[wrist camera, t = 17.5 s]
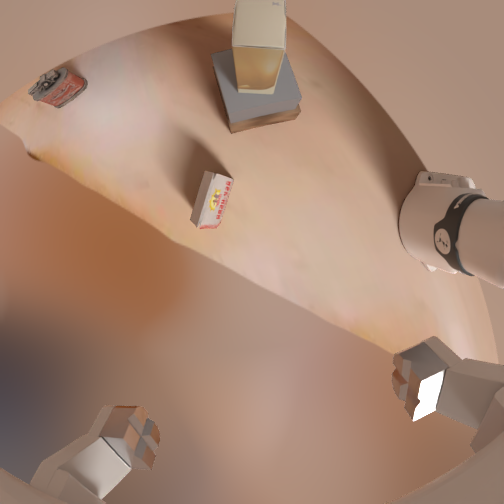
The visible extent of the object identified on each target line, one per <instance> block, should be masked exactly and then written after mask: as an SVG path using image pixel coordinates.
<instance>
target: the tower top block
mask: <svg viewBox="0 0 504 504" xmlns="http://www.w3.org/2000/svg"><path fill="white" fill-rule="evenodd" d="M211 57H212V60H213V64H214V67H215V71H216V74H217V78H218V81H219V84H220V88H221V91H222V95H223V98H224V102H225V105H226V109H227V112H228V116H229V119H230V123H235V122H239V121H243V120H247V119H251V118H255V117H259V116H264V115H268V114H273V113H278V112H283V111H288V110H293V109H295V108H296V107H297V105H298V103H299V102H300V100H301V99H302V97H301V94H300V91H299V88H298V85H297V82H296V79H295V76H294V74H293V71H292V68H291V66H290V63H289V60H288V58H287V55H286V53H284V57H283V61H282V64H281V68H280V71H279V75H278V79H277V82H276V86H275V90H274V93H273V94H253V93H239V92H238V88H237V80H236V72H235V65H234V58H233V51H232V49H229V50H225V51H221V52H217V53H213V54H211Z"/></svg>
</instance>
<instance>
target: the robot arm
mask: <svg viewBox="0 0 504 504" xmlns="http://www.w3.org/2000/svg"><path fill="white" fill-rule="evenodd" d="M428 177H429V180H428ZM399 231H400V237H401V240H402V243H403V245H404V247H405V249H406V250H407V252H408V253H409V254H410V255H411V256H412V257H414V258H415V259H417V260H420V261H421V262H423V264H424V266H425V267H426V268H427V269H428V270H429V271H435V270H437V269H440V270H443V271H446V272H449V273H452V274H455V273H456V272H460V273H462V274H466V275H469V276H477V277H479V278H481V279H483V280H485V281H487V282H489V283H491V284H493V285H495V286H497V287H499V288H503V289H504V201H500V200H490V199H488V198H487V197H486V196H485V194H484V192H483V191H482V190H481V189H476V188H475V185H474V183H473V181H472V179H471V178H468V177H463V176H456V175H449V174H442V173H435V172H427V171H421V172H419V174H418V176H417V179H416V182H415V186H414V188H413V189H412V190H411V192H410V193H409V194H408V196H407V197H406V199H405V201H404V203H403V205H402V209H401V212H400V219H399ZM393 364H394V366H395V367H396V369H395V370H394V372H393V373H392V385H393V389H394V391H395V394H396V395H397V397H398V398H399V399H400V400H403V401H405V407H404V408H405V409H406V411H407V413H408V414H409V416H410V417H411V419H412V420H413V421H414V420H416V419H418V418H420V417H423V416H425V415H427V414H429V413H431V412H433V411H435V410H436V412H438V413H440V414H442V415H445V416H447V417H449V418H451V419H454V420H456V421H458V422H461V423H463V424H465V425H468V426H470V427H473V428H475V429H477V432H476V434H475V435H474V437H473V439H472V441H471V444H470V446H471V447H472V449H473V450H474V452H475V454H474V455H473V456H471V457H470V458H468V459H467V460H466V461H464V462H463V463H461V464H460V465H458V466H457V467H455V468H453V469H452V470H450V471H449V472H447V473H445V474H444V475H442V476H440V477H438V478H437V479H435V480H433V481H431V482H429V483H428V484H426V485H424V486H422V487H420V488H418V489H416V490H414V491H412V492H410V493H408V494H406V495H403V496H401V497H399V498H397V499H394V500H392V501H390V502H387V503H385V504H504V365H499V364H493V363H488V362H482V361H477V360H472V359H467V358H465V359H464V360H462V359H461V358H460V357H458V356H457V355H456V354H455V353H454V352H453V351H452V350H451V349H450V348H449V347H447V346H446V345H445V344H444V343H443V342H442V341H441V340H440V339H438V338H437V337H435V336H432V337H430V338H428V339H426V340H424V341H422V342H421V343H418V344H416V345H413V346H411V347H409V348H407V349H404V350H402V351H400V352H397V353H395V354H394V357H393ZM159 442H160V432H159V429H158V427H157V425H156V424H155V422H153V421H152V420H150V419H149V418H148V412H147V411H146V410H145V408H144V407H141V406H120V405H117V406H113V405H106V406H104V407H103V408H102V409H101V411H100V413H99V415H98V416H97V418H96V420H95V422H94V423H93V425H92V427H91V429H90V431H89V432H88V434H87V435H83V436H81V437H80V438H78V439H77V440H75V441H74V442H72V443H71V444H69V445H68V446H66V447H64V448H63V449H61V450H60V451H58V452H57V453H55V454H53V455H52V456H50V457H49V458H47V459H45V460H44V461H42V462H41V464H40V466H39V468H38V469H37V471H36V473H35V475H34V476H33V478H32V480H31V482H30V484H27V483H25V482H23V481H21V480H20V479H18V478H16V477H15V476H13V475H11V474H10V473H8V472H6V471H5V470H3V469H2V468H0V504H107V503H105V502H103V501H102V500H101V499H102V498H103V497H104V496H105V495H106V494H107V493H108V492H109V491H111V489H113V488H114V486H115V485H117V484H118V483H119V482H120V481H121V480H122V479H123V478H124V476H126V475H127V473H128V472H129V471H130V470H131V468H132V469H145V470H152V468H153V464H154V461H155V457H156V455H155V453H154V450H155V449H156V448H157V447H158V446H159Z"/></svg>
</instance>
